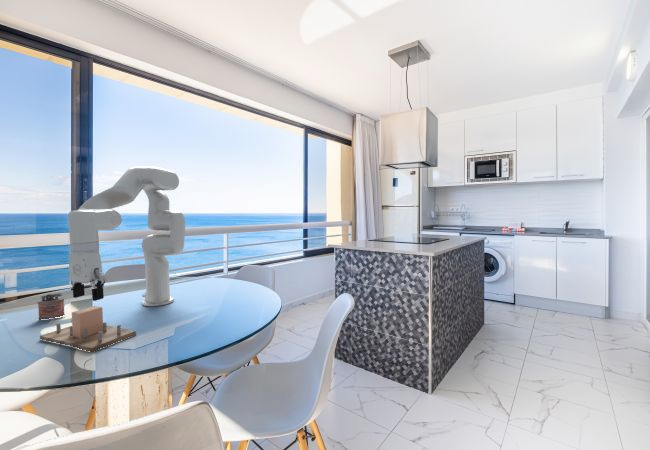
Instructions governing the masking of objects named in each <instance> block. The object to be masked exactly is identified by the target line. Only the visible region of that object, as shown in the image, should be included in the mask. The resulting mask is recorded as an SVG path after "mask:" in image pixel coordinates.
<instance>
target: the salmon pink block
mask: <svg viewBox="0 0 650 450" xmlns="http://www.w3.org/2000/svg"><path fill="white" fill-rule="evenodd" d="M103 313H104V312H103V306H96V305H94V306H90V307H86V308H83V309H78V310H74V311H71V324H72V325H71V326H72V329H73V337H77V338H83V337H84V334H83V329H87V334H88V335H91V334H94V333H97V332H100V331H103V323H104V319H103V316H104V315H103Z"/></svg>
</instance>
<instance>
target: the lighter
mask: <svg viewBox="0 0 650 450" xmlns="http://www.w3.org/2000/svg"><path fill="white" fill-rule="evenodd" d="M40 296H41V300H37V306H38V307H37V308H38V319H39V320H41V319H49V318H55V317H60V316H63V315H65V316H66V314H65V297H62V296H63V293H62V292H57V293H56V292H55V293H52V292H50V293H48V294H42V295H40Z"/></svg>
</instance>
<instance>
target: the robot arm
mask: <svg viewBox="0 0 650 450" xmlns="http://www.w3.org/2000/svg"><path fill="white" fill-rule="evenodd" d="M179 185H180V179H179V176H178V175H177V173H175V172H174V171H172V170H169V169H165V168H161V167H156V166H133V167H130V168H128V169H127V170H126V171H124V173H123V174H122V176H120V178H119V179H118V180H117V181H116V182H115V184H114V185H113V186H111V187H109V188H107V189H105V190H103V191H102V192H99V193H97V194H95V195H93V196H91V197H90V198H88V199H86V201H84V202H83V204H82V205H81V206H79V208H78V209H76V210H71V211H69V212H68V216H67V219H68V231H69V232H68V234H69V248H70V250H69V251H70V252H69V259H68V260H69V262H68V275H69V276H68V278H69V281H70V282H71V283H70V284H71V286H72V295H73V296H72V297H73V298H74V299H75V298H76V299H77V298H81V297H84V296H85V295H86V294H85V284H89V283H90V285H91V287H92V289H91V296H92V297H91V299H92V301H93V302H96V301H99V300H103V299H104V298H105V297H104V287H105V283H106V278H107V274H105V273H104V272H103V265H102V258H101V254H100V240H99V239H100V238H99V231H112V230H115V229H117V228H119V226H120V225H121V224H122V220H123V219H122V216H121V214H120V213H119V212H118V211H117V210H115V209H116V208H119V207H123V206H125V205H129V204H131V203H132V202H135V200H136V198H137V197H138V196H139V194H140V193H141V191H142V190H143V192H144V194H146V196H147V199H148V211H147V228H148V229H149V230H150V231H153V232H169V233H170V234H166V233H164V234H163V233H154V234H148V235H146V236H144V238H143V239H142V241H141V250H142V253H143V257H144V266H145V293H142V295H141V296H142V297H143V298H145V299H144V300H143V301H142V305H143V306H144V307H160V306H165V305H169V304H171V303H172V302H174V300H175V299H174V297H173V296H171V293H170V292H171V291H170V290H171V289H170V265H169V261H168V259H167V257H166V256H177V255H180V254H182V252H183V251H184V248H185V235H186V219H185V216H184V214H183V213H182V212H181V211H178V210H170V198H169V197H168V196H167V194H166V193H165V192H164V191H175V190H176V189H177V188H178V187H179Z"/></svg>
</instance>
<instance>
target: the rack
mask: <svg viewBox="0 0 650 450" xmlns="http://www.w3.org/2000/svg"><path fill="white" fill-rule="evenodd" d="M55 325H56V330H54V331H51V332H47V333H44V334H42V335H39V340H40V339H42V340H46V341H51V342H56V343H60V344H65V345H70V346H73V347H77V348H79V349H82V350H86V351H90V352H93V353H95V352H94V351H96V350H98V349H100V348H103V347H106V346H108V345H111V344H113V343H115V344H117V343H116V342H118V341H120V342H122V341H121V340H123V341H125V340H127V339H126V338H128V337H130V338H132V337H131V336H133V335H135V336H136V335H137V331H136V330H133V329H128V328H124V327H121V326H122V325H121V324H117V325H116V326H113V325H109V324H108V325H107V322H106V321H103V331H100V332H97V333H94V334H91V335H88V334H87V329H83V334H84V337H83V338H77V337H73V329H72V325H70V326H67V327H64V328H61V323H60V322H57V323H56V324H55ZM133 337H134V336H133ZM124 339H125V340H124ZM128 339H129V338H128ZM118 343H119V342H118ZM113 345H114V344H113ZM111 346H112V345H111ZM108 347H109V346H108ZM106 348H107V347H106ZM103 349H104V348H103ZM98 351H99V350H98ZM96 352H97V351H96Z"/></svg>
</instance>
